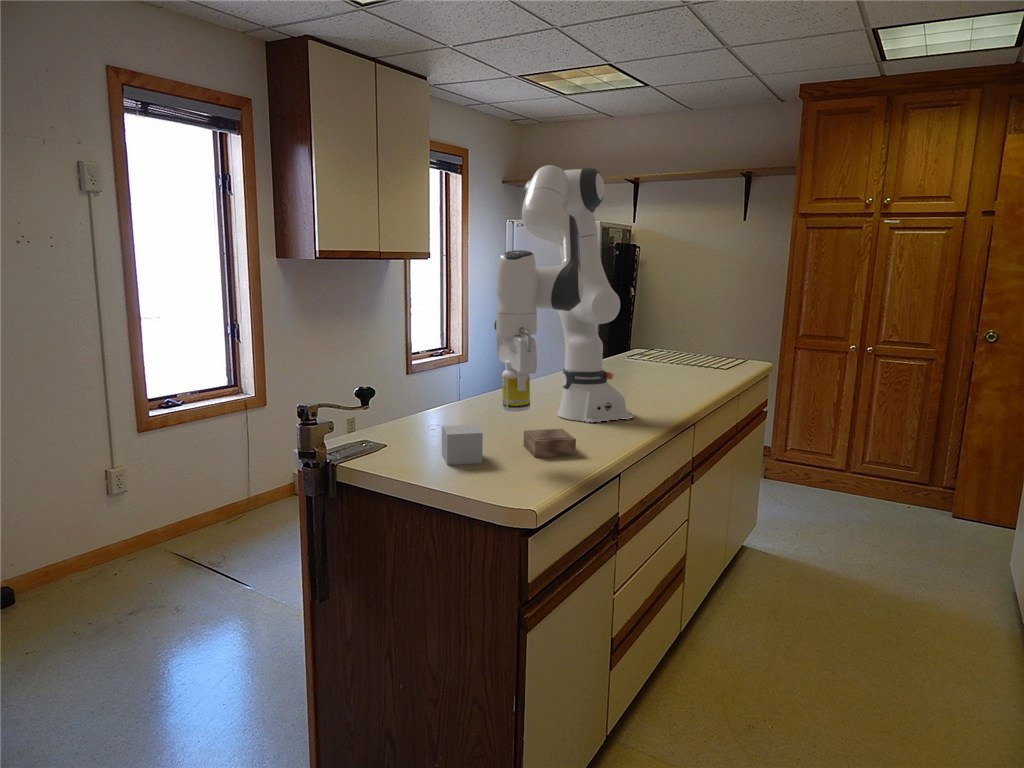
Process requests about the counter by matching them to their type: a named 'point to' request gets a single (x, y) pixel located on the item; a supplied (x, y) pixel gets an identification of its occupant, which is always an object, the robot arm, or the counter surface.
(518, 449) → the counter surface
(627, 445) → the counter surface
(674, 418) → the counter surface
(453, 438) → the grey pedestal
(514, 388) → the pill bottle
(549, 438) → the walnut base
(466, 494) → the counter surface
